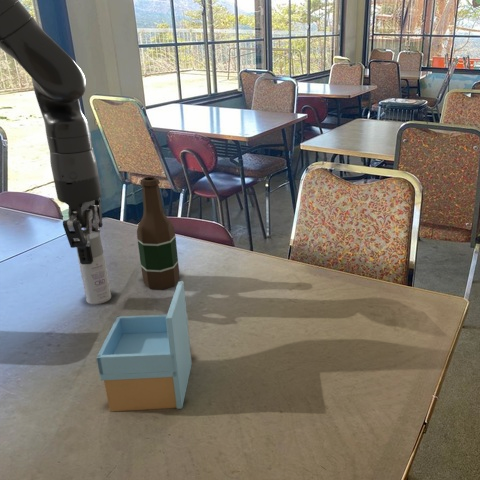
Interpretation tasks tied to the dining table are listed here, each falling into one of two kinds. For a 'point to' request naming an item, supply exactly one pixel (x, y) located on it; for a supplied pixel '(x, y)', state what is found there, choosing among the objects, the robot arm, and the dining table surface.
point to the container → (95, 273)
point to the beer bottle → (156, 240)
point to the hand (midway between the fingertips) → (91, 257)
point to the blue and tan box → (147, 359)
